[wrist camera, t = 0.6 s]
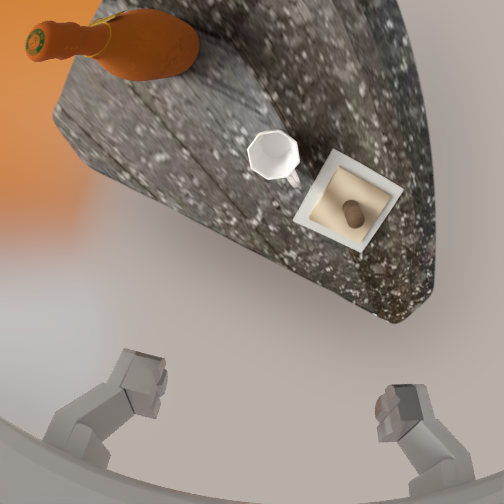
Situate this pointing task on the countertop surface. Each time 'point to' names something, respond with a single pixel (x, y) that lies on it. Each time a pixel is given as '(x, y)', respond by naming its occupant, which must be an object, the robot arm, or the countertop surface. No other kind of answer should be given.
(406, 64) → the countertop surface
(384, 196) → the lid
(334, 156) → the mat
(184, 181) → the countertop surface
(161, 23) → the wine bottle
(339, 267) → the countertop surface
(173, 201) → the countertop surface
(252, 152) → the cup
